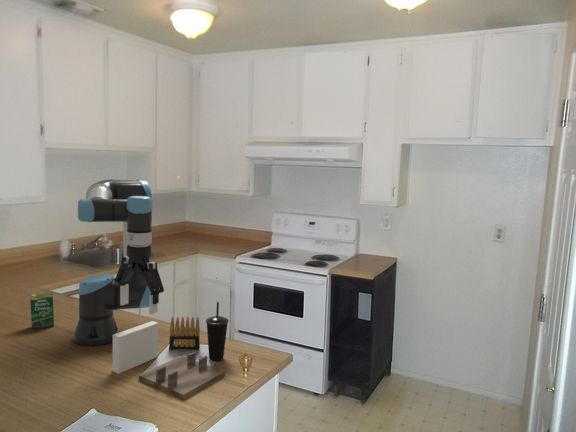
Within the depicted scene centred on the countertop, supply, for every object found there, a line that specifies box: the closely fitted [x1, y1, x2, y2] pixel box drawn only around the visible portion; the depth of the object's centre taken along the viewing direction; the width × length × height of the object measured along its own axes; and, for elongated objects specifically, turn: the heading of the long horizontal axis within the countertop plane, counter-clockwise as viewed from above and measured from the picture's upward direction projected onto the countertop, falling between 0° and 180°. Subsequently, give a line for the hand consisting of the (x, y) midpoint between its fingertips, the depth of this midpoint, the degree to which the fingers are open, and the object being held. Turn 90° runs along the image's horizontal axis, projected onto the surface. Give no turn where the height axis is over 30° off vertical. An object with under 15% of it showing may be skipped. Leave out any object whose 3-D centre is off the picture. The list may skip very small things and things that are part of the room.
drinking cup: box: [205, 301, 229, 362], centre depth 156 cm, size 8×8×20 cm
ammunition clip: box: [168, 316, 201, 351], centre depth 163 cm, size 11×2×12 cm, turn 97°
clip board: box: [138, 351, 226, 400], centre depth 142 cm, size 19×18×5 cm
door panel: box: [112, 320, 159, 374], centre depth 150 cm, size 3×16×12 cm, turn 148°
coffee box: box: [29, 292, 55, 330], centre depth 177 cm, size 8×3×13 cm, turn 116°
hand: (138, 308), depth 149 cm, fingers open, 13 cm apart
